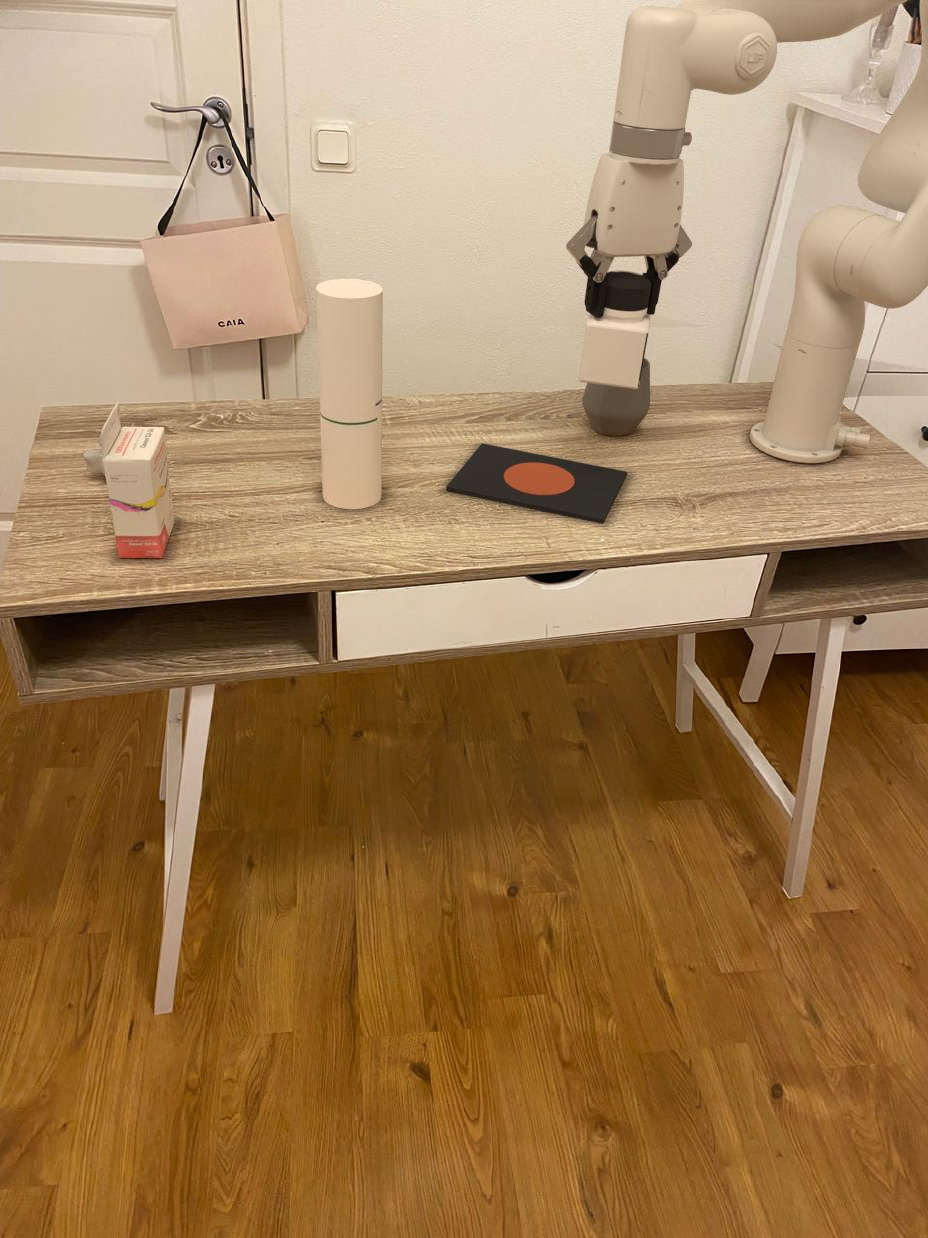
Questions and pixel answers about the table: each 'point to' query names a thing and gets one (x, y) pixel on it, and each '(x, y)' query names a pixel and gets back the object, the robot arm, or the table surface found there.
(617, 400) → the cup
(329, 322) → the cylindrical container
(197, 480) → the table surface
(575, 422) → the table surface
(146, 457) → the ink cartridge box
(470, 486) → the mat
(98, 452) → the rubber duck
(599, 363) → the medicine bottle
